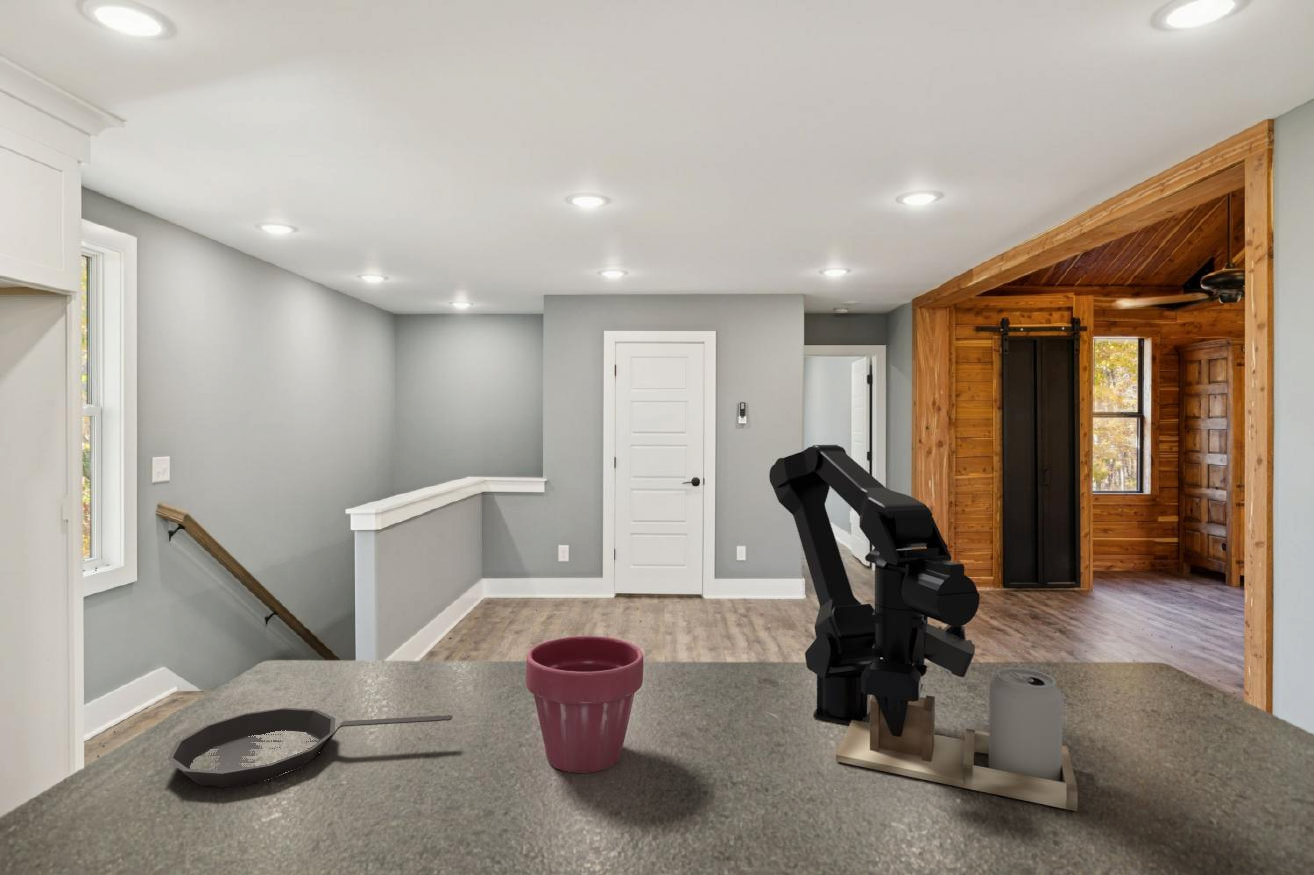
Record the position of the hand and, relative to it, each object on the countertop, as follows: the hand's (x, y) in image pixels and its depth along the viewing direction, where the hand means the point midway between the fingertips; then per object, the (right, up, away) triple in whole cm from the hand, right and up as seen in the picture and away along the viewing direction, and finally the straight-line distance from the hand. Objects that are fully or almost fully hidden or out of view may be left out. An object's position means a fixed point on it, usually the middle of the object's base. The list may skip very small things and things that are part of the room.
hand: (898, 730), depth 86 cm
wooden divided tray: (+5, -3, -2) cm, 6 cm away
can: (+13, -3, -6) cm, 14 cm away
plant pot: (-39, -3, 0) cm, 39 cm away
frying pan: (-72, -3, 0) cm, 72 cm away
